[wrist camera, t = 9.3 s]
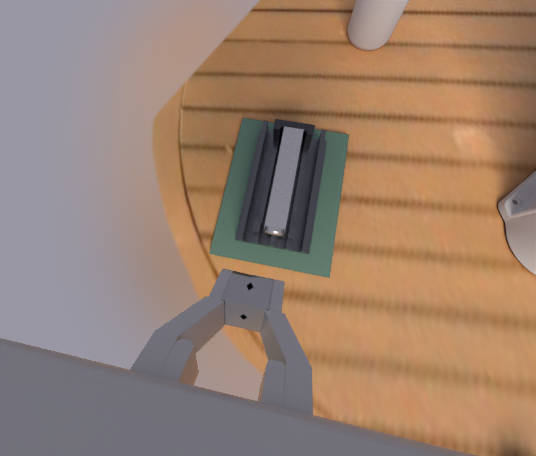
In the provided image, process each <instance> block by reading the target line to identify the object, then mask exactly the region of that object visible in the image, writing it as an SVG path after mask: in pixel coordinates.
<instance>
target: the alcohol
mask: <svg viewBox="0 0 536 456" xmlns="http://www.w3.org/2000/svg"><path fill="white" fill-rule="evenodd" d="M408 2H409V0H356V3H355V6H354V9H353V12H352V15H351V19H350V22H349V25H348V30H347V31H348V37H349V40H350V42H351V43H352V45H353V46H355V47H356V48H358V49H360V50H364V51H373V50H376V49H378V48H380V47H381V46H383V45H384V44H385V43H386V42H387V41H388V40H389V38H390V36H391V34H392V33H393V31H394V29H395V27H396V25H397V23H398V21H399V19H400V17H401V15H402V13H403V11H404V9H405V7H406V5H407V4H408Z"/></svg>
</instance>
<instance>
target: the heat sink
mask: <svg viewBox="0 0 536 456" xmlns="http://www.w3.org/2000/svg"><path fill="white" fill-rule="evenodd" d="M284 126H285V127H291V128H298V129H304V131H303V137H302V142H301V148H300V153H299V158H298V164H297V169H296V175H295V180H294V186H293V191H292V196H291V202H290V207H289V213H288V218H287V223H286V229H285V233H284V236H283V237H282V236H277V235H271V234H266V233H264V226H265V221H266V216H267V211H268V206H269V201H270V196H271V191H272V186H273V181H274V176H275V171H276V166H277V161H278V156H279V151H280V146H281V141H282V136H283V131H284ZM314 128H315V125H310V124H303V123H297V122H291V121H284V120H278V119H275V124H274V128H273V132H270V131H268V121H264V123H263V127H262V130H260V132H259V136H258V141H257V145H256V149H255V154H254V158H253V163H252V167H251V172H250V176H249V180H248V185H247V189H246V194H245V198H244V202H243V207H242V211H241V216H240V220H239V224H238V229H237V233H236V238H235V240H236V241H241V242H246V243H251V244H256V245H262V246H267V247H272V248H277V249H282V250H287V251H293V252H298V253H303V254H309V253H310V247H311V240H312V234H313V228H314V221H315V215H316V209H317V202H318V196H319V190H320V183H321V177H322V171H323V164H324V158H325V152H326V145H327V141H326V140H325V135H326V130H322V131H321V133H320V136H319V139H313V138H312V137H313V134H314Z"/></svg>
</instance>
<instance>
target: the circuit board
mask: <svg viewBox="0 0 536 456" xmlns="http://www.w3.org/2000/svg"><path fill="white" fill-rule="evenodd" d="M263 123H264V121H259V120H253V119H247V118H243V120H242V124H241V128H240V132H239V136H238V140H237V144H236V148H235V152H234V156H233V160H232V164H231V168H230V172H229V176H228V180H227V184H226V188H225V193H224V197H223V201H222V205H221V209H220V213H219V217H218V221H217V225H216V229H215V233H214V237H213V241H212V245H211V249H210V253H209V254H213V255H218V256H223V257H228V258H233V259H238V260H243V261H248V262H253V263H258V264H263V265H268V266H273V267H278V268H283V269H288V270H293V271H298V272H303V273H308V274H313V275H318V276H323V277H328V278H329V277H330V270H331V263H332V255H333V248H334V241H335V233H336V226H337V219H338V212H339V204H340V197H341V190H342V182H343V175H344V168H345V160H346V153H347V146H348V139H349V135H348V134H341V133H335V132H329V131H326V135H325V140H326V141H327V145H326V152H325V158H324V164H323V171H322V177H321V183H320V190H319V196H318V202H317V209H316V215H315V221H314V228H313V234H312V240H311V247H310V253H309V254H303V253H298V252H293V251H287V250H282V249H277V248H272V247H267V246H262V245H256V244H251V243H246V242H241V241H236V240H235V238H236V233H237V229H238V224H239V220H240V216H241V211H242V207H243V202H244V198H245V194H246V189H247V185H248V180H249V176H250V172H251V167H252V163H253V158H254V154H255V149H256V145H257V141H258V136H259V132H260V130H262V127H263ZM274 124H275V123H272V122H268V131H270V132H273V128H274ZM321 131H322V130H316V129H314V134H313V137H312V138H313V139H319V136H320V133H321Z"/></svg>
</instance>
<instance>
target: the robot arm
mask: <svg viewBox="0 0 536 456" xmlns="http://www.w3.org/2000/svg"><path fill="white" fill-rule="evenodd" d="M498 209H499V211H500V214H501V215H502V217H503V219H504V221H505V226H506V235H507V239H508V243H509V245H510V248H511V250H512V251H513V253H514V255H515V256H516V258H517V259H518V260H519V261H520V262H521V264H522V265H523V266H525V267H526V268H527V269H528V270H529V271H531V272H532V273H534V274H535V275H536V171H534V172H533V173H532V174H531V175H530V176H529V177H528V178H526V179H525V180H524V181H523V182H522V183H521V184H519V185H518V186H517V187H516V188H515V189H514V190H513V191H511V192H510V193H509V194H508V195H507V196H506V197H505V198H503V199H502V200H501V201H500V202H499V204H498ZM284 284H285V283H284V281H279V280H274V279H270V278H265V277H260V276H255V275H249V274H244V273H240V272H236V271H231V270H227V269H223V270H222V271H221V272H220V275H219V277H218V279H217V281H216V283H215V285H214V287H213V289H212V291H211V293H210V295H209V297H204V298H203V299H201V300H200V301H198V302H197V303H195V304H194V305H192V306H191V307H190V308H188V309H186V310H185V311H184V312H182V313H181V314H179V315H178V316H176V317H175V318H173V319H172V320H170V321H169V322H167V323H166V324H164V325H163V326H162V327H160V328H159V329H157V330H156V331H155V332H154V333H153V335H152V336H151V338H150V339H149V341H148V342H147V344H146V346H145V347H144V349H143V350H142V352H141V353H140V355H139V357H138V358H137V360H136V361H135V363H134V364H133V366H132V367H131V369H130V370H128V369H124V368H120V367H116V366H112V365H108V364H104V363H100V362H96V361H91V360H87V359H83V358H79V357H75V356H71V355H67V354H63V353H59V352H55V351H51V350H47V349H42V348H39V347H34V346H30V345H26V344H22V343H18V342H14V341H10V340H6V339H1V338H0V456H478V455H474V454H469V453H465V452H461V451H457V450H453V449H449V448H445V447H441V446H437V445H433V444H429V443H425V442H421V441H417V440H413V439H408V438H404V437H400V436H396V435H392V434H388V433H384V432H380V431H376V430H372V429H368V428H364V427H360V426H356V425H352V424H348V423H343V422H339V421H335V420H331V419H327V418H323V417H319V416H315V415H313V401H312V368H311V366H310V364H309V362H308V360H307V358H306V356H305V354H304V352H303V350H302V348H301V346H300V344H299V342H298V340H297V338H296V336H295V334H294V332H293V330H292V328H291V326H290V324H289V322H288V320H287V318H286V316H285V314H283V313H281V312H282V303H283V294H284ZM224 324H225V325H230V326H235V327H240V328H245V329H249V330H253V331H256V332H260V334H261V338H262V341H263V344H264V347H265V350H266V354H267V357H268V360H269V361H268V362H267V365H266V368H265V372H264V375H263V378H262V382H261V385H260V390H259V396H258V401H254V400H250V399H245V398H242V397H238V396H234V395H230V394H225V393H222V392H217V391H213V390H209V389H205V388H201V387H197V386H194V383H195V380H196V378H197V375H198V372H199V371H198V366H197V360H196V355H195V354H196V353H197V352H198V351H199V350H200V349H201V348H202V347H203V346H204V345H205V344H206V343H207V342H208V341H209V340H210V339H211V338H212V337H213V336H214V335H215V334H216V333H217V332H218V331H219V330H220V329H221V328H222V327H223V326H224Z"/></svg>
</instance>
